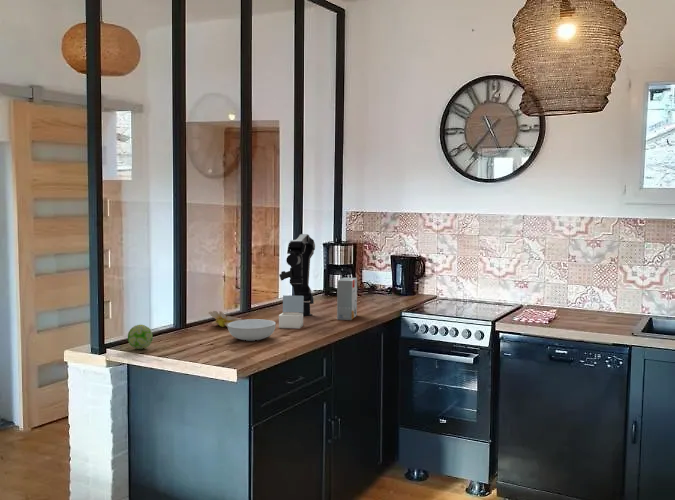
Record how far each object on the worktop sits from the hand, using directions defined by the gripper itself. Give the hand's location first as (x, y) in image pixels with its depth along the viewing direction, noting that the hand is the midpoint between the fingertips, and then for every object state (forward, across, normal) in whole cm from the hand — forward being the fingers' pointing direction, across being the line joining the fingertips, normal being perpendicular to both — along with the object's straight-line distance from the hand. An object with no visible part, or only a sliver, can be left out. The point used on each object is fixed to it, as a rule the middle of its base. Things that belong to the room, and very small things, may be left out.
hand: (296, 297), depth 337 cm
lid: (+3, +7, -1) cm, 8 cm away
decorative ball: (+18, +56, -62) cm, 85 cm away
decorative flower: (+14, +8, -33) cm, 37 cm away
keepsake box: (+13, +11, -2) cm, 17 cm away
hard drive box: (+11, -12, +26) cm, 31 cm away
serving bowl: (+16, +38, -18) cm, 45 cm away
